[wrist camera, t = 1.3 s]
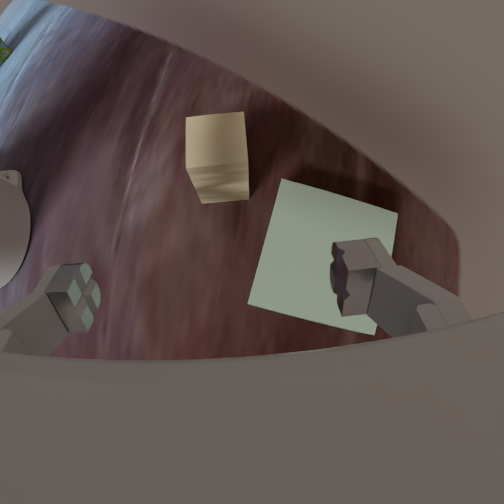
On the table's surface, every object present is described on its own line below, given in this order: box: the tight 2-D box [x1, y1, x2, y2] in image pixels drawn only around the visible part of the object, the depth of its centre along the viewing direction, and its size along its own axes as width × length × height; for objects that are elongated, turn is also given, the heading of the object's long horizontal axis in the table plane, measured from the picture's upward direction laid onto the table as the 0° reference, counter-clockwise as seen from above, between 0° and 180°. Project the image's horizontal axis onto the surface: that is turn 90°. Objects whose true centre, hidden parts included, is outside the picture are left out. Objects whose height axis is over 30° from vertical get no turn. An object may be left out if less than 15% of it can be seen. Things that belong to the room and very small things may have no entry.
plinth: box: [248, 179, 398, 335], centre depth 31 cm, size 12×12×4 cm
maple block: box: [186, 112, 249, 203], centre depth 30 cm, size 5×5×9 cm
